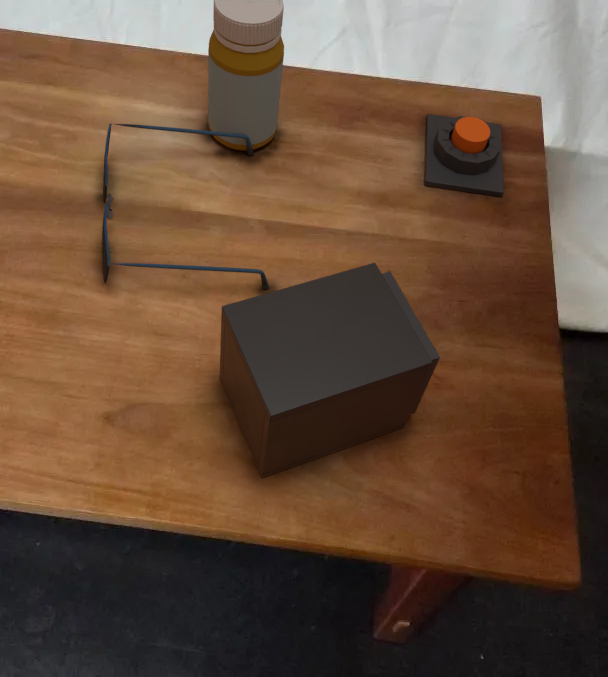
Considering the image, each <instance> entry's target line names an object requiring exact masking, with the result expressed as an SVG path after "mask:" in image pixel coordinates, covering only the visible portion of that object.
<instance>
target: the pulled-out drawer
mask: <svg viewBox="0 0 608 677" xmlns="http://www.w3.org/2000/svg"><path fill="white" fill-rule="evenodd" d="M382 275H383V277H384V279H385V280H386V282H387V284H388V286H389V287H390V289H391V291H392V293H393V294H394V296H395V298H396V300H397V301H398V303H399V305H400V307H401V308H402V310H403V312H404V314H405V315H406V317H407V319H408V320H409V322H410V324H411V326H412V327H413V329H414V331H415V333H416V334H417V336H418V338H419V340H420V341H421V343H422V345H423V347H424V348H425V350H426V352H427V354H428V355H429V357H430V359H431V361H432V365H431V367H430V369H429V372H428V374H427V376H426V378H425V380H424V383H423V385H422V387H421V389H420V392H419V394H418V396H417V398H416V401H415V403H414V405H413V407H412V410H411V412H410V414H409V416H410V415H412V414H415V413H416V411H417V409H418V408H419V405H420V403H421V400H422V398H423V396H424V394H425V392H426V390H427V388H428V385H429V383H430V380H431V379H432V376H433V374H434V372H435V370H436V367H437V366H438V363H439V361H440V360H441V356H440V355H439V353H438V350H437V349H436V348H435V346H434V344H433V342H432V341H431V339H430V337H429V335H428V333H427V331H426V330H425V329H424V326H423V325H422V323H421V322H420V320H419V318H418V316H417V315H416V313H415V311H414V309H413V308H412V306H411V304H410V302H409V301H408V300H407V297H406V296H405V294H404V292H403V291H402V289H401V287H400V286H399V283H398V282H397V280H396V279H395V277H394V275H393V274H392V272H391V271H386V272H383V273H382Z"/></svg>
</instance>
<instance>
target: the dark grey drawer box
mask: <svg viewBox="0 0 608 677" xmlns="http://www.w3.org/2000/svg"><path fill="white" fill-rule="evenodd" d="M382 274H383V273H382V272H381V270H380V268H379V265H378V264H377V263H376V262H371V263H368V264H364V265H362V266H357V267H354V268H351V269H347V270H344V271H340V272H337V273H333V274H330V275H327V276H323V277H320V278H316V279H312V280H309V281H304V282H302V283H299V284H294V285H291V286H288V287H285V288H280V289H277V290H274V291H271V292H267V293H262V294H260V295H256V296H253V297H249V298H245V299H242V300H238V301H235V302H231V303H228V304H225V305H224V304H223V305H222V306H221V313H220V315H221V316H220V322H221V323H220V347H219V348H220V352H219V381H220V383H221V385H222V388H223V391H224V392H225V395H226V397H227V399H228V402H229V405H230V407H231V409H232V412H233V414H234V416H235V419H236V421H237V423H238V426H239V428H240V431H241V433H242V435H243V437H244V440H245V443H246V445H247V448H248V449H249V452H250V455H251V456H252V459H253V461H254V464H255V466H256V469H257V471H258V473H259V476H260V478H261V479H264V478H266V477H267V478H268V477H269V476H272V475H275V474H278V473H281V472H283V471H287V470H289V469H292V468H295V467H297V466H300V465H303V464H307V463H309V462H311V461H315V460H316V459H320V458H322V457H327V456H328V455H329V456H330V455H331V454H334V453H337V452H341V451H342V450H346V449H348V448H352V447H355V446H356V445H360V444H363V443H365V442H368V441H370V440H373V439H377V438H379V437H382V436H385V435H387V434H391V433H393V432H396V431H400V430H402V429H404V427H405V425H406V422H407V421H408V419H409V417H410V415H411V414H410V412H411V410H412V407H413V405H414V403H415V401H416V398H417V396H418V394H419V392H420V389H421V387H422V385H423V383H424V380H425V378H426V376H427V374H428V372H429V369H430V367H431V365H432V361H431V359H430V357H429V355H428V354H427V352H426V350H425V348H424V347H423V345H422V343H421V341H420V340H419V338H418V336H417V334H416V333H415V331H414V329H413V327H412V326H411V324H410V322H409V320H408V319H407V317H406V315H405V314H404V312H403V310H402V308H401V307H400V305H399V303H398V301H397V300H396V298H395V296H394V294H393V293H392V291H391V289H390V287H389V286H388V284H387V282H386V280H385V279H384V277H383V275H382ZM409 414H410V415H409Z"/></svg>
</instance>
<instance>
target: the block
mask: <svg viewBox="0 0 608 677" xmlns="http://www.w3.org/2000/svg"><path fill="white" fill-rule="evenodd" d="M426 114H427V115H426V120H425V148H424V149H425V151H424V152H425V154H424V180H423V181H424V186H425V187H431V188H439V189H445V190H450V191H457V192H464V193H471V194H479V195H486V196H492V197H500V198H502V197H503V196H504V194H505V186H504V184H505V183H504V163H503V142H502V140H503V139H502V138H503V137H502V124H501V123H493V122H487V121H484V122H485V123H486V124H487V125H488V126H489V128H490V136H489V139H488V141H487V144H486V146H485V149H484V150H483V151H482V152H480V153H477V154H470V153H464V152H462V151H460V150H459V149H457V148H455V147H454V146H453V144H452V141H451V136H452V133H453V130H454V127H455V124H456V122H457V121H458V120H459V119H461V118H464V117H465V116H463V115H461V116H460V115H459V116H456V117H453V116H447V115H440V114H434V113H426Z"/></svg>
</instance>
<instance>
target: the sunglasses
mask: <svg viewBox="0 0 608 677" xmlns="http://www.w3.org/2000/svg"><path fill="white" fill-rule="evenodd" d="M112 125H113V123H109V125H108V129H107V132H106V138H105V146H104V155H103V156H104V157H103V179H102V180H103V183H102V199H103V201H102V202H103V204H104V209H103V210H104V211H103V216H102V226H101V227H102V231H101V260H102V263H101V264H102V279H103V280H102V281H103V283H104V285H106V284H107V282H108V277H109V273H110V266H111V252H110V245H109V237H108V225H107V224H108V223H107V222H108V220H112V219H113V218H114V211H113V209H112V208H111V203H113V202H114V199H115V198H114V197H113V196H111V193H108V197H107V192H108V185H109V161H108V158H109V150H110V148H109V147H110V141H111V133H112ZM114 125H116V126H122V127H129V128H135V129H143V130H144V129H145V130H155V131H164V132H175V133H184V134H186V133H187V134H194V135H204V136H205V135H206V136H213V135H216V136H226V137H236V138H244V139H246V145H247V150H246V152H247V156H248V157H253V156H255V153H254V150H253V149H252V146H251V142H250V139H249V137H248V136H246V135H242V134H234V133H225V132H214V131H210V130H205V129H204V130H202V129H192V128H180V127H171V126H159V125H158V126H157V125H147V124H133V123H132V124H130V123H114ZM112 265H117V266H126V267H136V268H152V269H170V270H185V271H186V270H188V271H206V272H222V273H223V272H225V273H226V272H227V273H242V274H243V273H244V274H246V273H247V274H259V275H260V281H261V288H262V289H263V290H269V289H270V285H269V282H268V278H267V277H266V274H265V272H264V271H263V270H262V269H257V268H243V267H226V266H206V265H187V264H165V263H143V262H142V263H141V262H140V263H139V262H119V263H117V262H115V263H114V262H113V263H112Z"/></svg>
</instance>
